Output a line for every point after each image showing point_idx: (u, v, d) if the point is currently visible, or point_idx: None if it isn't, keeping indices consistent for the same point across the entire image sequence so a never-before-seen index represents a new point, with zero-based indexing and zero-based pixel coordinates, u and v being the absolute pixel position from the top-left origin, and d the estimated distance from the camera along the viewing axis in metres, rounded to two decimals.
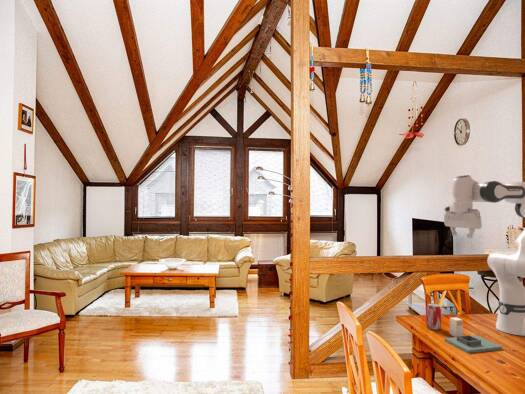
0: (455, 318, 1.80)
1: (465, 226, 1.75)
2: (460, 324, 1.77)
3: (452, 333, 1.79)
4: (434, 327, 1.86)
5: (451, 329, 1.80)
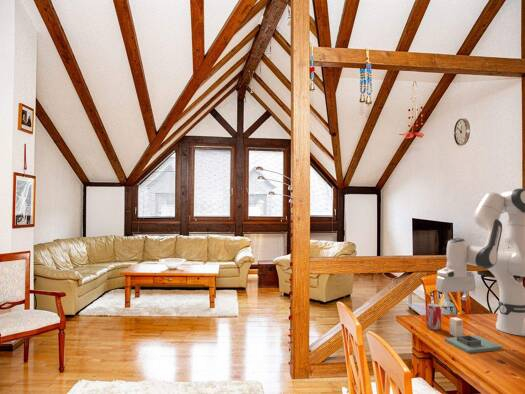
0: (455, 318, 1.80)
1: (465, 289, 1.78)
2: (460, 324, 1.77)
3: (452, 333, 1.79)
4: (434, 327, 1.86)
5: (451, 329, 1.80)
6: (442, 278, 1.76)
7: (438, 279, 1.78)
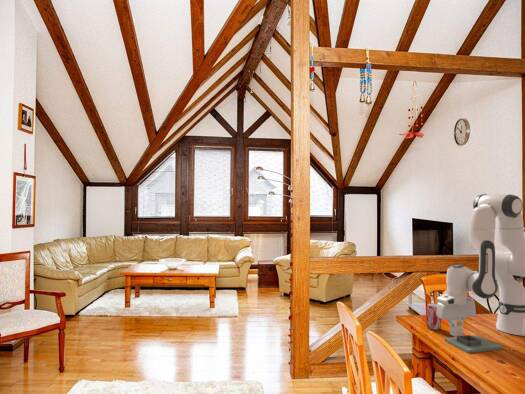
0: (455, 318, 1.80)
1: (465, 316, 1.78)
2: (460, 324, 1.77)
3: (452, 333, 1.79)
4: (434, 327, 1.86)
5: (451, 328, 1.80)
6: (442, 305, 1.76)
7: (438, 306, 1.77)
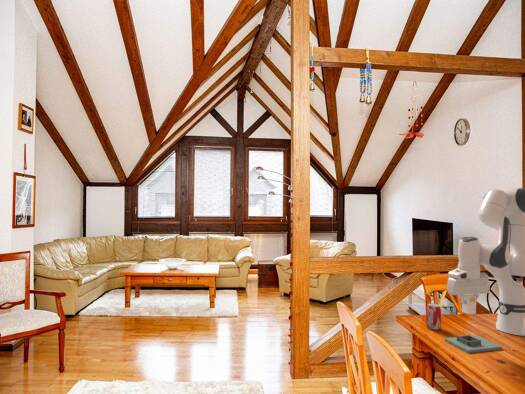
0: (467, 294, 1.67)
1: (479, 292, 1.66)
2: (473, 300, 1.64)
3: (464, 310, 1.66)
4: (434, 327, 1.86)
5: (463, 306, 1.67)
6: (454, 280, 1.63)
7: (450, 281, 1.65)
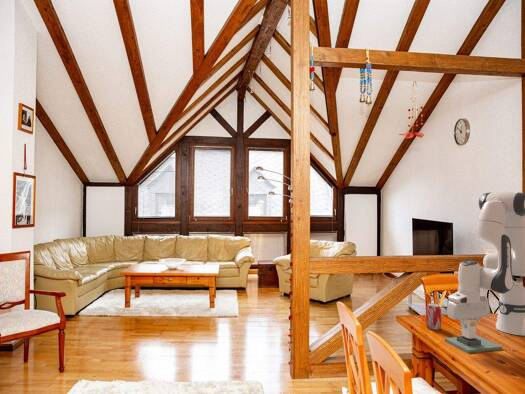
0: (468, 318, 1.67)
1: (479, 316, 1.66)
2: (473, 325, 1.64)
3: (465, 334, 1.66)
4: (434, 327, 1.86)
5: (463, 330, 1.67)
6: (454, 304, 1.63)
7: (450, 306, 1.65)
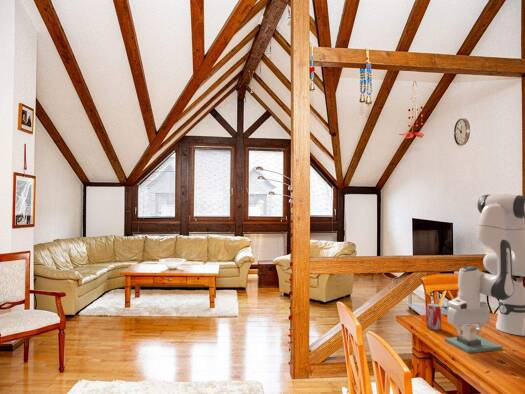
0: (468, 324, 1.67)
1: (479, 321, 1.66)
2: (473, 331, 1.64)
3: None
4: (434, 327, 1.86)
5: (463, 335, 1.67)
6: (454, 310, 1.63)
7: (450, 311, 1.65)
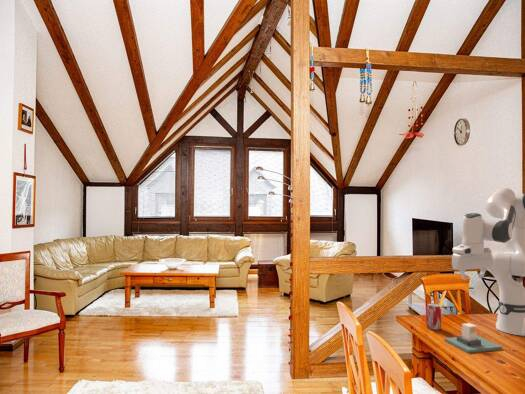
0: (468, 324, 1.67)
1: (483, 266, 1.70)
2: (473, 331, 1.64)
3: None
4: (434, 327, 1.86)
5: (463, 335, 1.67)
6: (458, 255, 1.67)
7: (454, 257, 1.69)
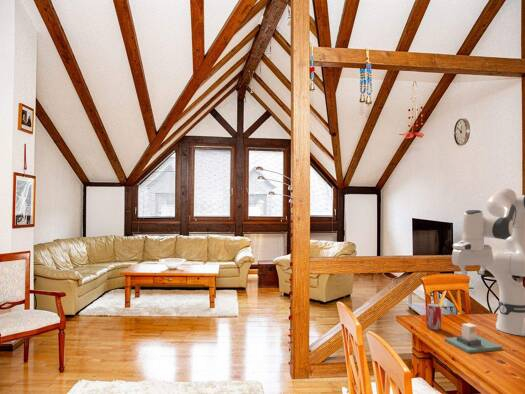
0: (468, 324, 1.67)
1: (483, 263, 1.70)
2: (473, 331, 1.64)
3: None
4: (434, 327, 1.86)
5: (463, 335, 1.67)
6: (458, 251, 1.67)
7: (454, 253, 1.69)
